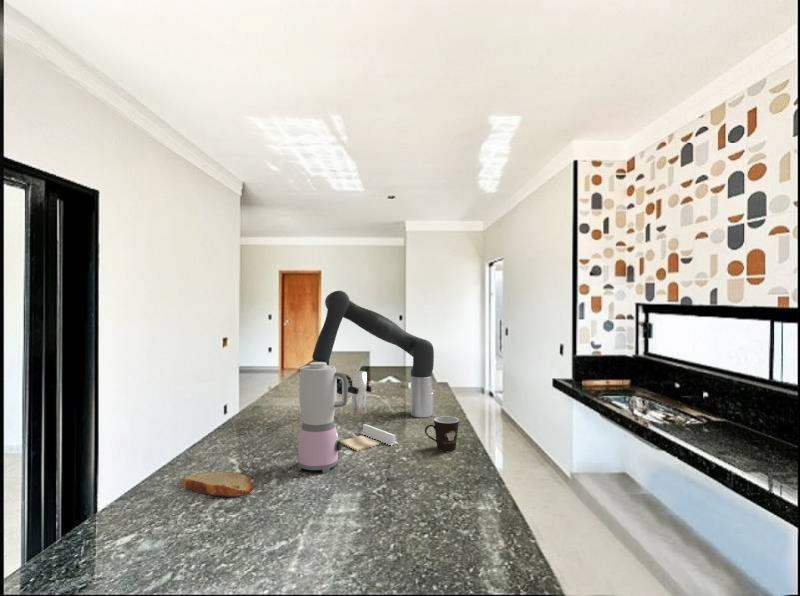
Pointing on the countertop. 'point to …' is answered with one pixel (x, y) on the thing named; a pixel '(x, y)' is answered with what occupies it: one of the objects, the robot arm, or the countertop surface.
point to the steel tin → (359, 392)
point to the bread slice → (219, 484)
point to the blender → (319, 416)
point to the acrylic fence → (379, 435)
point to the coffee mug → (445, 432)
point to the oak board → (359, 442)
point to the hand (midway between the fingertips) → (363, 390)
